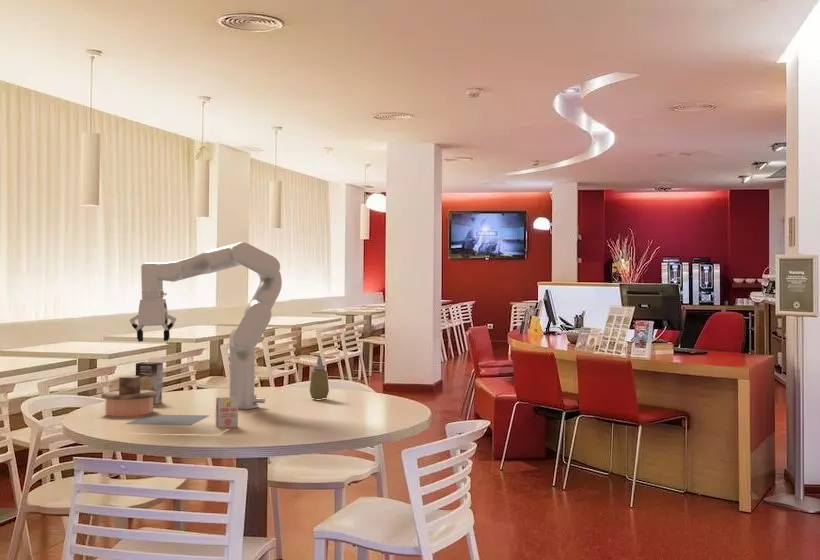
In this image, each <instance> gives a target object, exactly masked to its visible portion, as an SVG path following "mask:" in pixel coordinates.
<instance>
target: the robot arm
mask: <svg viewBox="0 0 820 560" xmlns="http://www.w3.org/2000/svg"><path fill="white" fill-rule="evenodd" d="M238 266H243V267H245V268H246V269H249V271H250V270H251V271H253V272H255V274H256V273H257V275H258V277H259V284H258V287H257V288H256V291H255V293H254V295H253V296H252V298H251V300H250V302H249V303H248V304H247V306H246V308H245V310H244V315H243V317H242V319H241V320H240V322H239V324H238V325H237V326H236V327H234V328H233V329H232V331H231V332H230V334H229V340H228V341H229V343H228V344H229V381H228V382H229V384H228V386H229V387H228V388H229V390H228V391H229V392H228V394H229V395H228V397H238V410H251V409H257V408H258V407H259V404H265V403H266V398H264V397H257V394H255V375H256V374H255V371H256V369H255V368H256V367H255V364H256V361H255V360H256V354H255V352H256V351H255V348H256V346H257V345H258V343H259V341H260V340H261V338H262V336H263V335H264V332H265V331H266V329H267V327H268V325H269V324H270V321H271V319H272V309H273V307H274V305H275V303H276V301H277V299H278V297H279V295H280V294H281V289H282V284H283V281H282V279H283V278H282V274H281V272H280V270H281V263H280V261H279V260H278V259H277V258H276V257H275V256H273V255H271V254H269V253H268V252H265V251H263V250H261V249H259V248H258V247H256V246H253V245H251V244H250V243H247V242H245V241H239V242H237V243H233V244H230V245H226V246H222V247H219V248H214V249H211V250H207V251H204V252H201V253H199V254H197V255H194V256H191V257H188V258H184V259H180V260H177V261H168V262H144V263H142V264H141V266H140V269H141V271H140V273H141V299H140V300H139V305H138V314H137V315H136V316H134V317H132V318H130V319H129V322H130V324H131V327H133V329H134V330H135V331H136V339H137V341H138V342H139V343H140V342H144V331H143V328H144V327H149V326H150V327H151V326H152V327H153V326H155V327H156V326H161V327H162V328H163V329H164V330H163V341H164V342H169V339H170V337H171V336H170V330H171V329H172V328H173V327H174V326H175V323H176V321H177V318H176V317H175V316H172V315H170V314H168V313H169V311H168V305H167V304H168V303H167V301H166V298H164V297H166V296H167V295H168V294H167V291H164V288H163V285H164V284H163V283H164V281H165V282H170V283H171V282H172V283H174V282H178V281H182V280H186V279H188V278H193V277H198V276H200V275H201V276H202V275H206V274H207V275H209V274H213V273H216V272H220V271H223V270H228V269H230V268H234V267H238ZM169 320H170V323H169ZM136 321H138V324H137V323H136Z"/></svg>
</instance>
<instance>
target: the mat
mask: <svg viewBox="0 0 820 560" xmlns="http://www.w3.org/2000/svg"><path fill="white" fill-rule="evenodd" d="M208 417H210V415H208V414H207V415H206V414H204V415H202V414H201V415H198V414H195V415H194V414H152V413H149V414H145V415H144V416H141V417H139V418H137V419H134V420H131V421H129V422H126V425H154V426H155V425H158V426H160V425H162V426H164V425H165V426H167V425H168V426H192V425H194V424H196V423H198V422H200V421H202V420H204V419H206V418H208Z"/></svg>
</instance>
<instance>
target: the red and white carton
mask: <svg viewBox="0 0 820 560" xmlns="http://www.w3.org/2000/svg"><path fill="white" fill-rule="evenodd" d="M215 399H216V402H215V427H216V428H226V427H227V428H226V429H239V425H238V424H239V420H238V419H239V409H238V397H229V396H227V397H226V396H225V397H224V396H222V397H216V398H215Z"/></svg>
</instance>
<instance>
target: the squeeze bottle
mask: <svg viewBox="0 0 820 560" xmlns="http://www.w3.org/2000/svg"><path fill="white" fill-rule="evenodd" d="M310 373H311V376H310V384H309V393H310V396H311V399H312V398H314V399H322V398H326V399H327V398H328V395H329V391H330V389H329V377H328V376H329V375H328V371H327V370H326V365H325V364H323V360H322V356H317V360H316V364H314V365H313V370H312V371H311V372H310Z"/></svg>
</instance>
